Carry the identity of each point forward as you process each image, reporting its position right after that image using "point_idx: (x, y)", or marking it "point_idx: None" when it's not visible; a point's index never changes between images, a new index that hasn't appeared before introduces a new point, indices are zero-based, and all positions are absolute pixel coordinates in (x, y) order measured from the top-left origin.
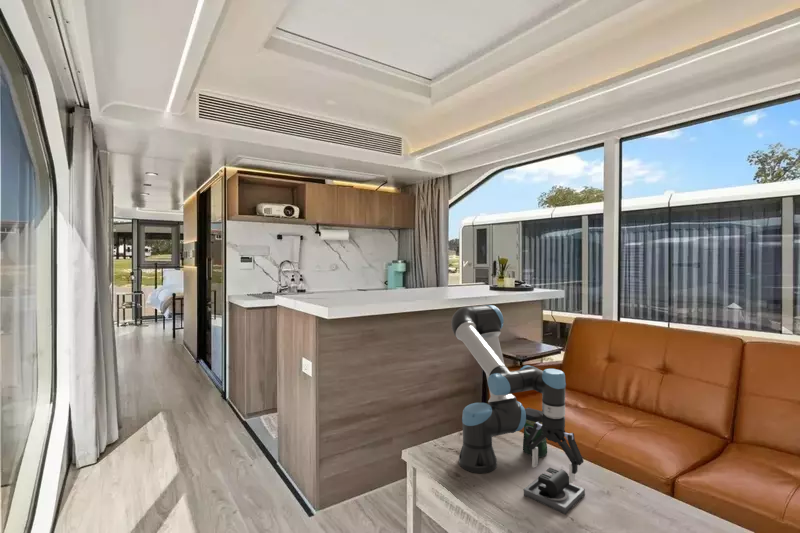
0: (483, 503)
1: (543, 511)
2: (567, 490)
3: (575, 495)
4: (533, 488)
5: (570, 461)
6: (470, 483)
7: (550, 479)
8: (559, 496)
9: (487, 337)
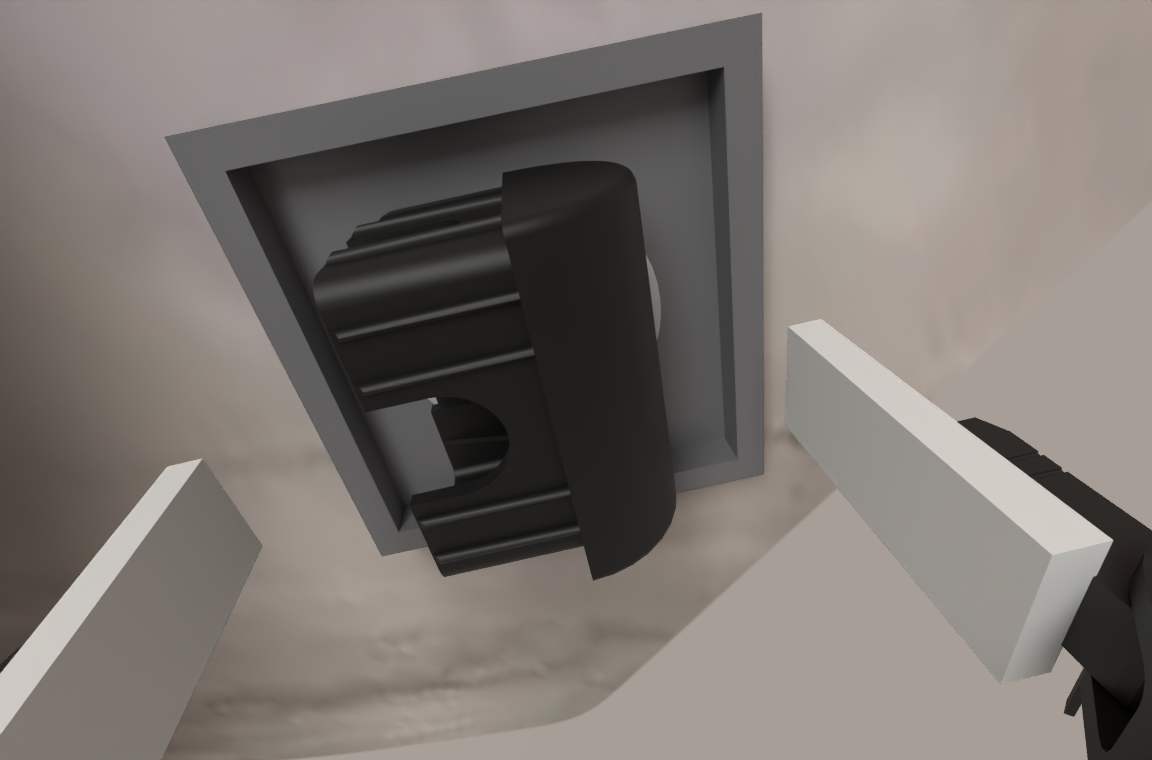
0: (347, 725)
1: None
2: None
3: (743, 253)
4: (367, 426)
5: (1089, 745)
6: None
7: (604, 564)
8: None
9: None
